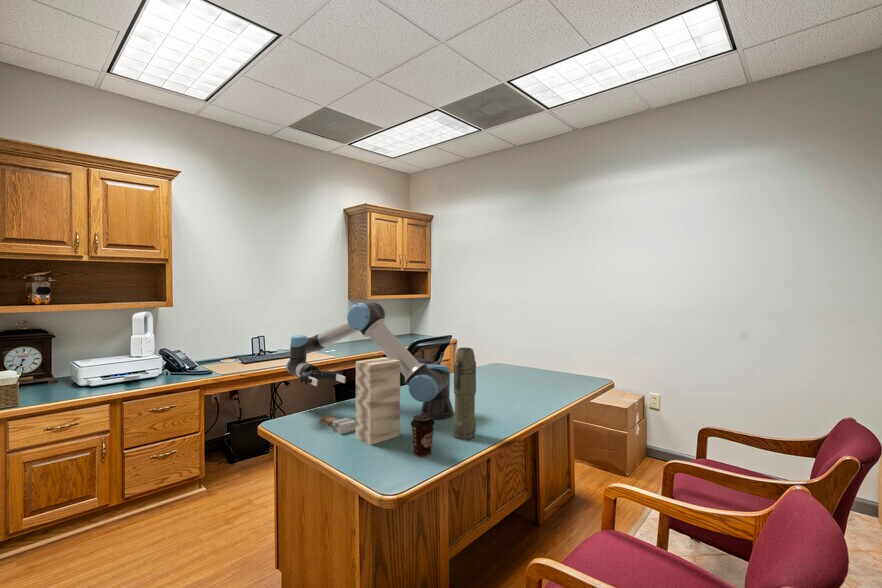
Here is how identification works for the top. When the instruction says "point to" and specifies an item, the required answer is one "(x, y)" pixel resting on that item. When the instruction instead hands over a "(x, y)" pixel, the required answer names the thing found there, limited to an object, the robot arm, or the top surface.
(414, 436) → the coffee cup
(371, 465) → the top surface
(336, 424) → the hammer
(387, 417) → the pedestal
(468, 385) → the thermos
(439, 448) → the top surface
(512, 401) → the top surface
